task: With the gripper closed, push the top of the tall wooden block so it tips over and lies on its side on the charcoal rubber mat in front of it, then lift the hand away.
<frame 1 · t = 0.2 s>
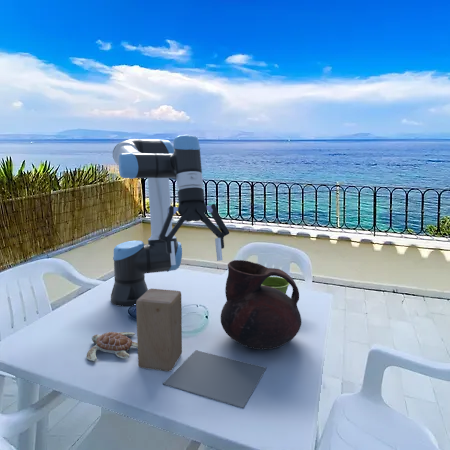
hand: (197, 262, 104), 28 cm above the table, tool tilted 20°, fingers open, 13 cm apart
decorative turtle: (113, 350, 112), on the table
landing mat: (216, 376, 99), on the table
plant pot: (272, 310, 141), on the table
jug: (259, 341, 118), on the table
wooden block: (160, 361, 105), on the table
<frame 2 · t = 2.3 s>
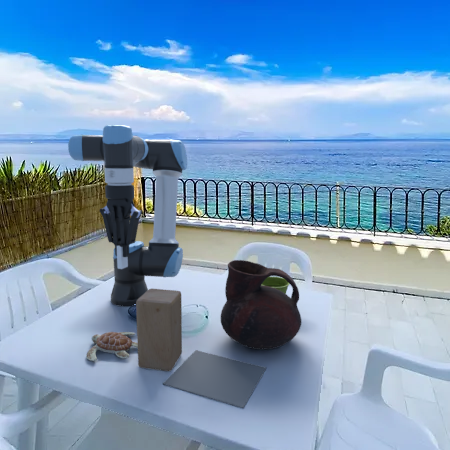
hand: (122, 267, 105), 26 cm above the table, tool pointing down, fingers closed
nothing on the table moved.
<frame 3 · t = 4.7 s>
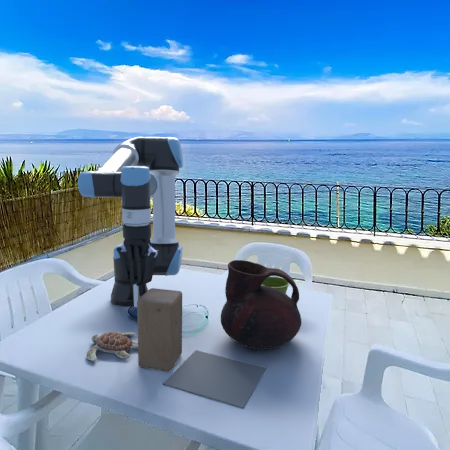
hand: (139, 305, 105), 16 cm above the table, tool pointing down, fingers closed
wooden block: (160, 361, 105), on the table, touching gripper
everything else where it was.
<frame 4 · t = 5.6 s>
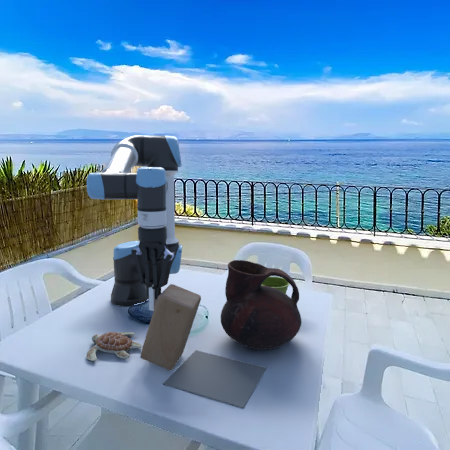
hand: (154, 308, 103), 16 cm above the table, tool pointing down, fingers closed
wooden block: (161, 356, 105), point 1 cm above the table, touching gripper
everything else where it was.
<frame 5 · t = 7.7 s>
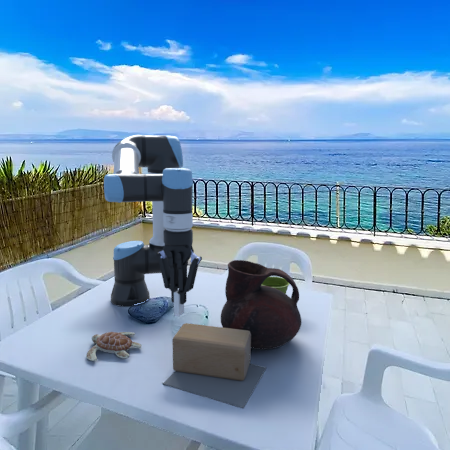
hand: (179, 314, 100), 16 cm above the table, tool pointing down, fingers closed
wooden block: (177, 345, 103), point 5 cm above the table, touching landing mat
everything else where it was.
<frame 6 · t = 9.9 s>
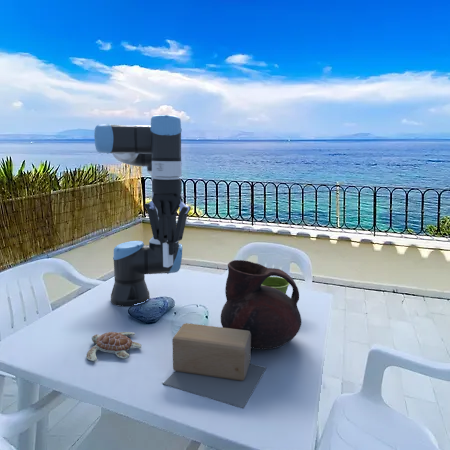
hand: (168, 265, 100), 28 cm above the table, tool pointing down, fingers closed
nothing on the table moved.
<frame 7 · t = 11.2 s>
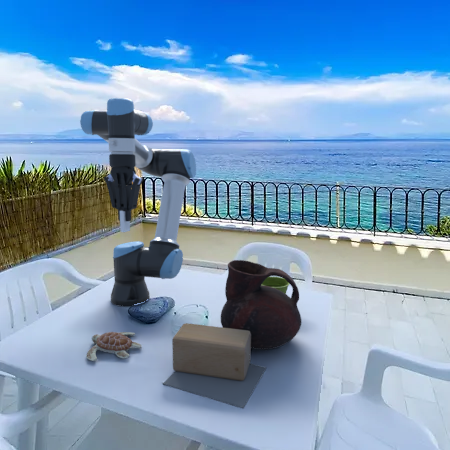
hand: (125, 231, 114), 34 cm above the table, tool pointing down, fingers closed
nothing on the table moved.
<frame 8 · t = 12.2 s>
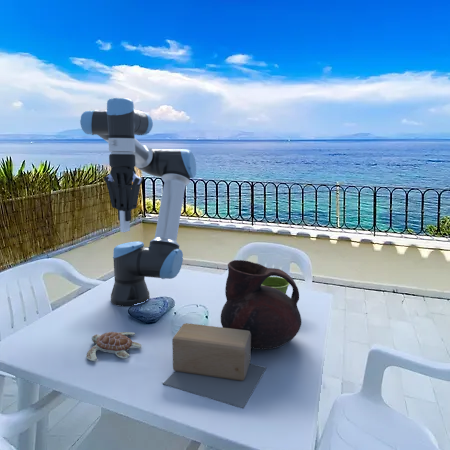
hand: (125, 231, 114), 34 cm above the table, tool pointing down, fingers closed
nothing on the table moved.
at the end: wooden block tilted 90°; wooden block inside the target area (2.9 cm from its centre), point 5.3 cm above the table; wooden block touching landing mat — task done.
